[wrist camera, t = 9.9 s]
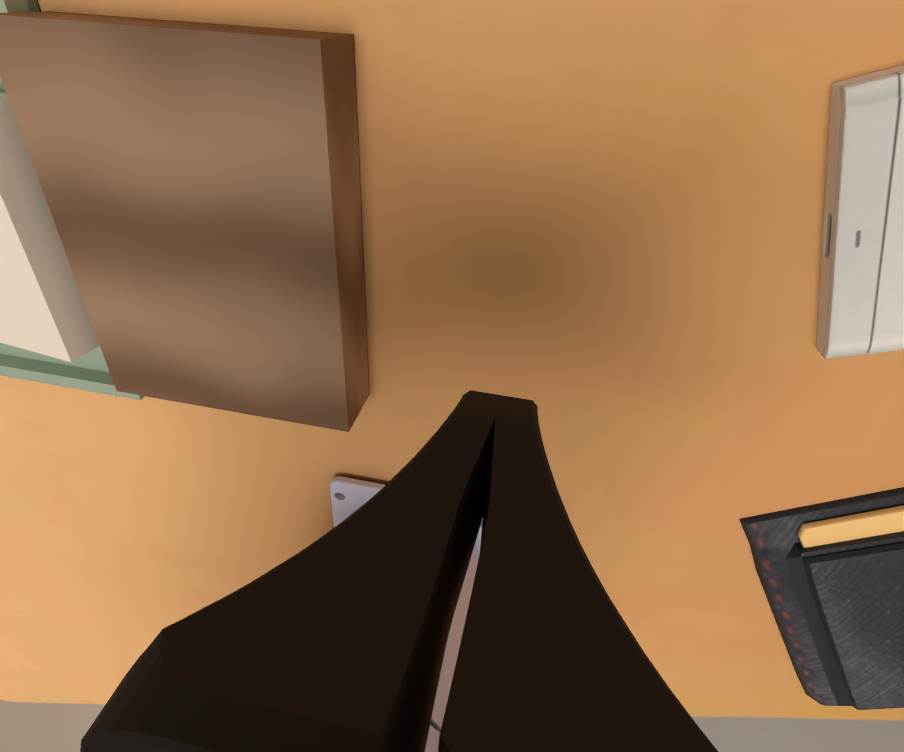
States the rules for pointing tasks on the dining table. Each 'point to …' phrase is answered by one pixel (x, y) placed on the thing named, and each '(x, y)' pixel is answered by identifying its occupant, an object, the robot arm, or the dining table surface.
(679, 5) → the dining table surface
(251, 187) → the deck
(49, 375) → the tray
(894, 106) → the hard drive
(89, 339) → the tile
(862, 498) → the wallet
